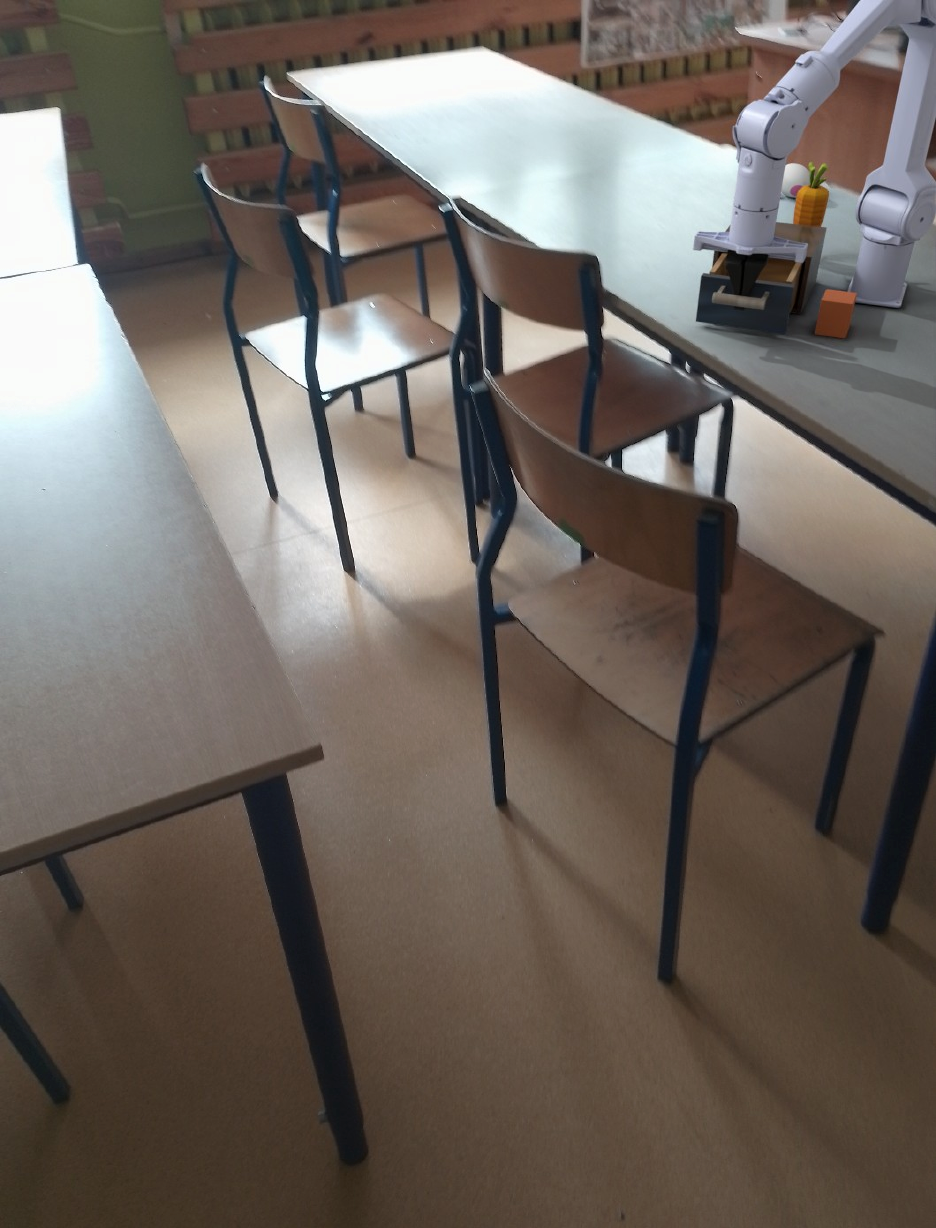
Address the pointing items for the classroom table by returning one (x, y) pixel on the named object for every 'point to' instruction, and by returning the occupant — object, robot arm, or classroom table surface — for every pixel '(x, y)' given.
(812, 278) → the cabinet
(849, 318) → the block
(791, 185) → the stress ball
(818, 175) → the carrot
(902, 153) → the robot arm
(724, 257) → the drawer
